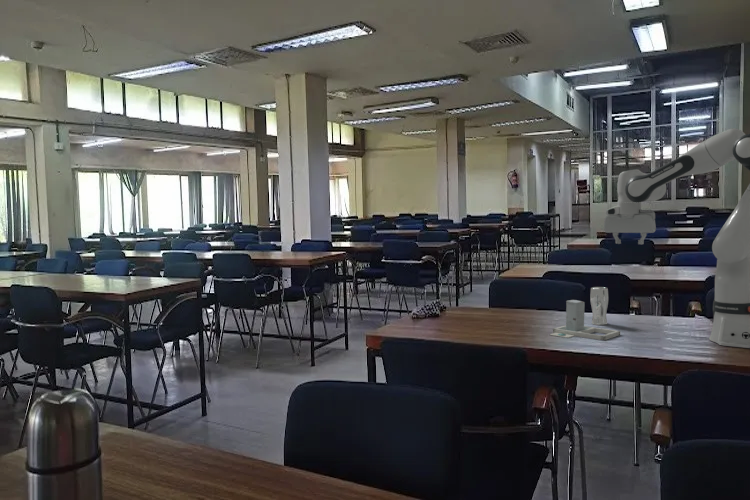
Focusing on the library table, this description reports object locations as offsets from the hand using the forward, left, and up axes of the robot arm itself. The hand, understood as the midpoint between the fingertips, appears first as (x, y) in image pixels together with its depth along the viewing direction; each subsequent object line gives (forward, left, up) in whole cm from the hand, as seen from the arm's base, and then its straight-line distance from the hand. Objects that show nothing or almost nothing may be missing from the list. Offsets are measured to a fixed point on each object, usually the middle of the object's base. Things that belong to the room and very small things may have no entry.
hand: (629, 244), depth 240 cm
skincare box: (+8, +27, -33) cm, 44 cm away
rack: (+4, +29, -33) cm, 44 cm away
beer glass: (+10, +6, -33) cm, 35 cm away
